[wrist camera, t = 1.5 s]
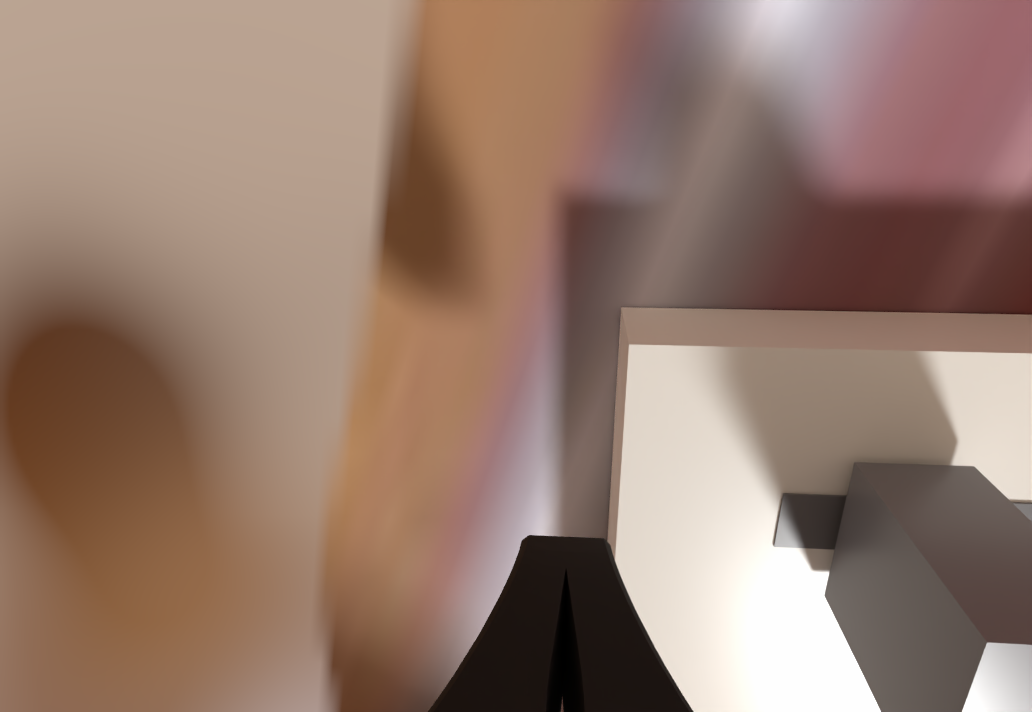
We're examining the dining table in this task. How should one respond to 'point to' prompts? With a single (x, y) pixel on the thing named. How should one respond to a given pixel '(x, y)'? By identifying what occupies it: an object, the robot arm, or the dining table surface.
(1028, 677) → the gray tab
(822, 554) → the switch board
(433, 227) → the dining table surface
